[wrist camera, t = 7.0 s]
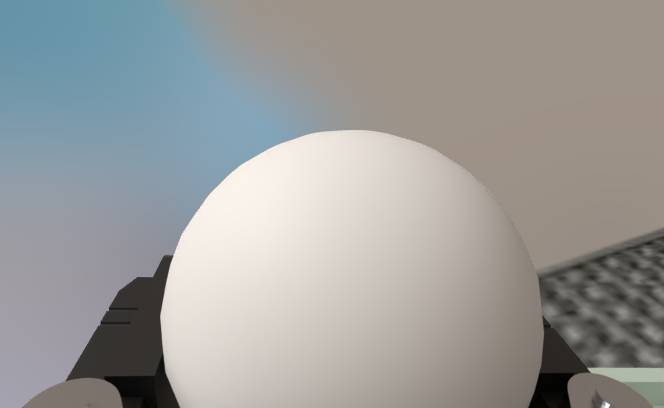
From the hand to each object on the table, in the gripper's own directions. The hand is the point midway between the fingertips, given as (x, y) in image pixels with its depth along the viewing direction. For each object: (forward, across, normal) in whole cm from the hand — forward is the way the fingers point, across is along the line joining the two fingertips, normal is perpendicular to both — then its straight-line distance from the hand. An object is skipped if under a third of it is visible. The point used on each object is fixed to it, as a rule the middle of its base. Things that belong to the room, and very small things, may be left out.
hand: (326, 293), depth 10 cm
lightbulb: (-2, 0, +7) cm, 7 cm away
